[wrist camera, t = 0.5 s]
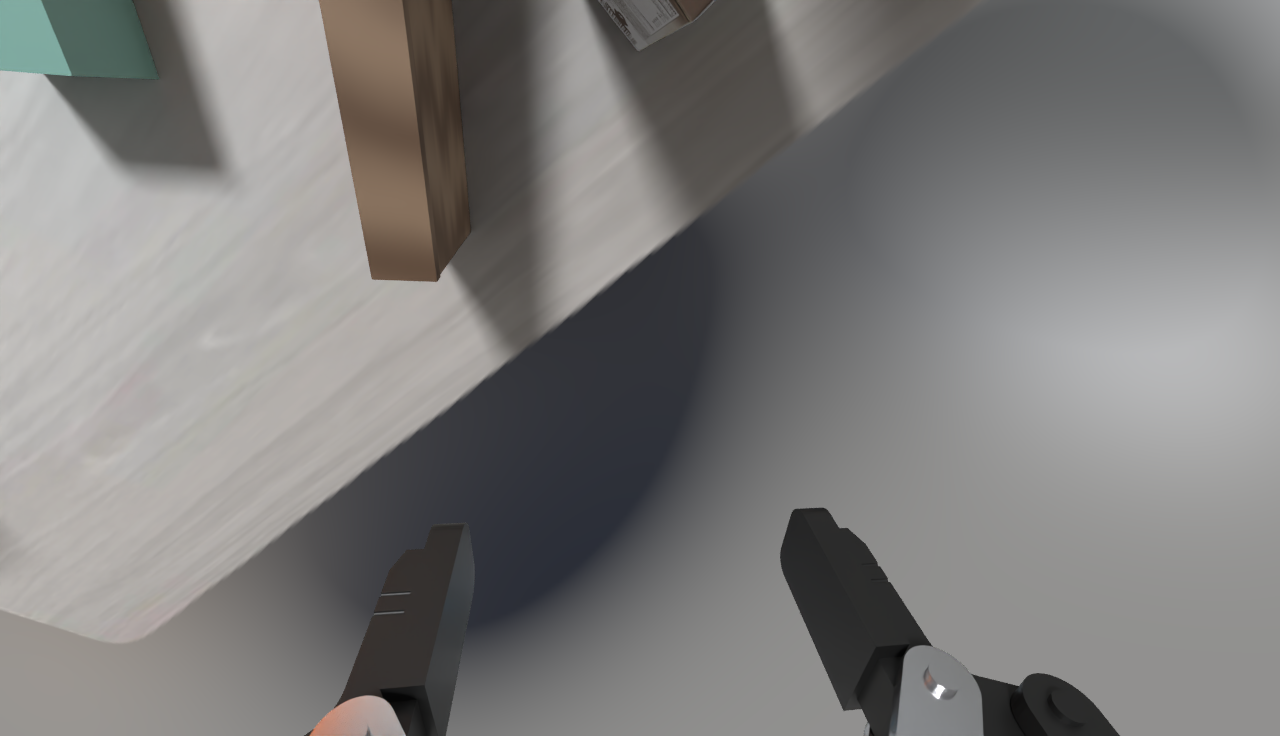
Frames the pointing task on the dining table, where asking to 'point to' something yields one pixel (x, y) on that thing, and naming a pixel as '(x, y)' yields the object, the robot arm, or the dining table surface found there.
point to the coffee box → (653, 17)
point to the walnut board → (401, 130)
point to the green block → (74, 38)
